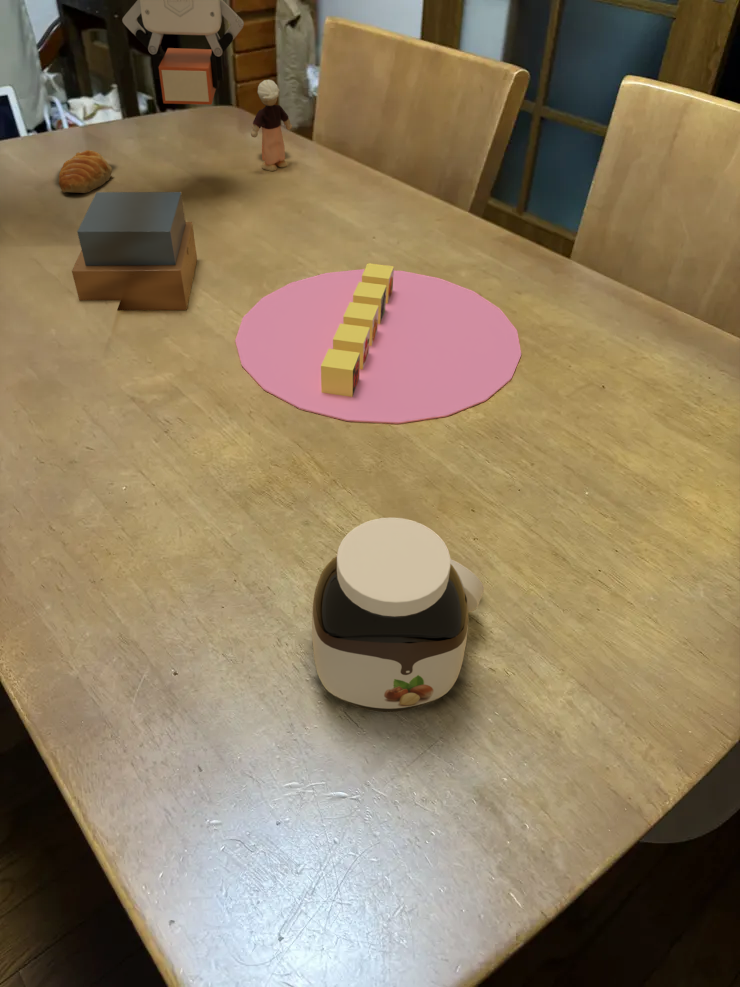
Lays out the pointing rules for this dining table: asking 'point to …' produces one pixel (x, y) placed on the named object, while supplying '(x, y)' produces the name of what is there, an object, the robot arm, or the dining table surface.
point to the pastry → (84, 172)
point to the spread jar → (392, 617)
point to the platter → (378, 346)
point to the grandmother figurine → (271, 126)
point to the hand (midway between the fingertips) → (190, 84)
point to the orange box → (186, 76)
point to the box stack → (136, 251)
